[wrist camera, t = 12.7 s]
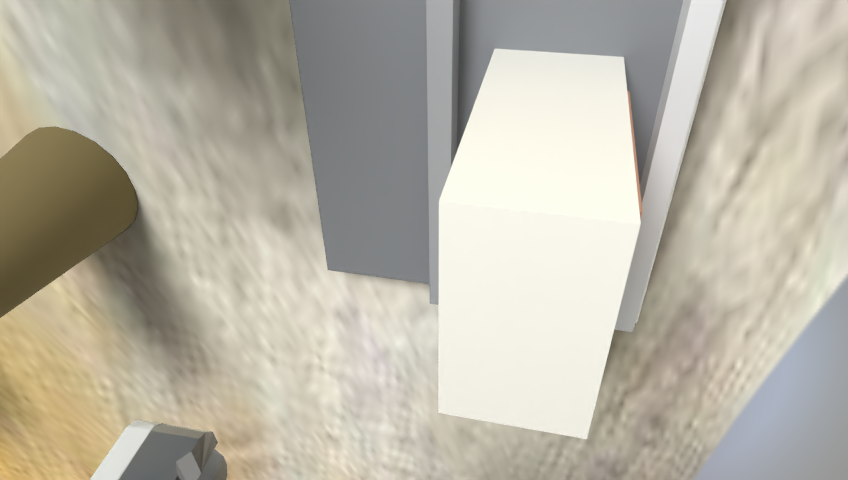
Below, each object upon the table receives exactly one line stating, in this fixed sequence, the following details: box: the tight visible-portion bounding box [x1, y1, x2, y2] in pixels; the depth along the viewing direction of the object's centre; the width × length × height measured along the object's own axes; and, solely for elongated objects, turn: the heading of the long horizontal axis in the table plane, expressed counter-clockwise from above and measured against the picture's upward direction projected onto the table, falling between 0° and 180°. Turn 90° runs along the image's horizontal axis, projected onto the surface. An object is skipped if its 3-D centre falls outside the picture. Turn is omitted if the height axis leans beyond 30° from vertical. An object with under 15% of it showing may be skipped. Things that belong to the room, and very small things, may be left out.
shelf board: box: [289, 0, 726, 332], centre depth 22 cm, size 14×13×3 cm
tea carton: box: [438, 49, 642, 439], centre depth 18 cm, size 4×7×9 cm, turn 1°
